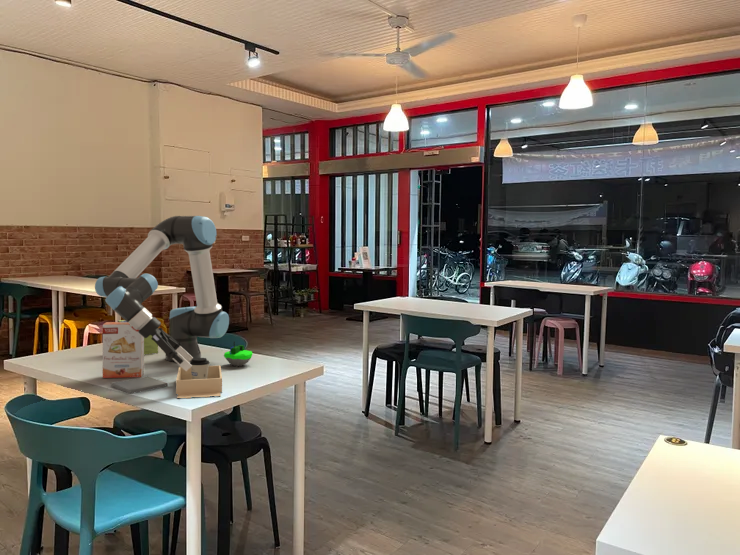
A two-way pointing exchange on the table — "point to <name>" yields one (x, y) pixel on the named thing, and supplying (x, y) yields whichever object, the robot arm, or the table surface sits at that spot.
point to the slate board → (139, 384)
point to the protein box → (148, 344)
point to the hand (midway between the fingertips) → (189, 364)
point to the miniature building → (238, 355)
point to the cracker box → (122, 351)
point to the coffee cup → (199, 368)
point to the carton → (199, 383)
